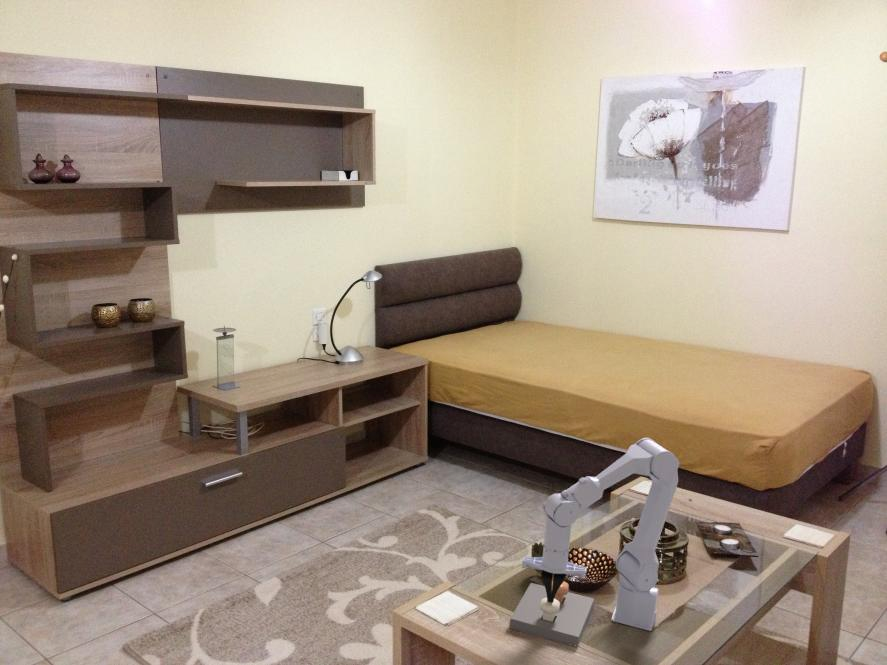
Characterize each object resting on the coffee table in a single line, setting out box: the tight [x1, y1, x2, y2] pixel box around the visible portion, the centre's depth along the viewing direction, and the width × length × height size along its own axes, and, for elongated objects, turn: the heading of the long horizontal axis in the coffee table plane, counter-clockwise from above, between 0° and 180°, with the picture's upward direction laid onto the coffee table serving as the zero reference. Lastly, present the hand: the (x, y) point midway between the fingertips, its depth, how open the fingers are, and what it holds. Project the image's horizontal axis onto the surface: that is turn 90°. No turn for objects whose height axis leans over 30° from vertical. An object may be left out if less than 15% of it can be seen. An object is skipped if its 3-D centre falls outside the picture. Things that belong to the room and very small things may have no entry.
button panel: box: [509, 582, 595, 647], centre depth 194 cm, size 16×18×2 cm
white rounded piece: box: [540, 598, 560, 622], centre depth 189 cm, size 4×4×4 cm
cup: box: [530, 541, 544, 580], centre depth 212 cm, size 8×7×8 cm
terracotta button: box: [552, 580, 570, 603], centre depth 197 cm, size 4×4×4 cm
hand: (550, 600), depth 189 cm, fingers closed
